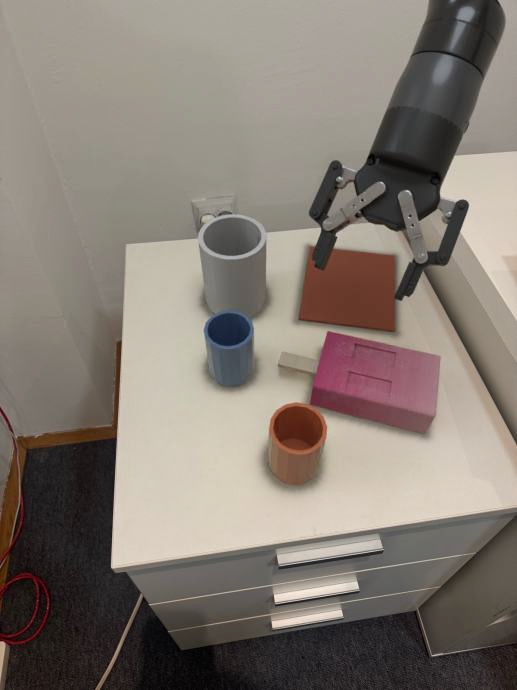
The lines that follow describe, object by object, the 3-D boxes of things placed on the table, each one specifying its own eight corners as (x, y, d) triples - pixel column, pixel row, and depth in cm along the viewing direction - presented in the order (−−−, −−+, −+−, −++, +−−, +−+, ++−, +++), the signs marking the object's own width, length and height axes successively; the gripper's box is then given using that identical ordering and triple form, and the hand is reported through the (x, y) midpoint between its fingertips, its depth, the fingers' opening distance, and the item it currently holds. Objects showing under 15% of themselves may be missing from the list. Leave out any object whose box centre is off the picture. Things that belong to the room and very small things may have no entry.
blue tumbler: (257, 353, 68) (257, 313, 61) (249, 389, 64) (248, 351, 58) (215, 347, 69) (210, 307, 62) (205, 383, 65) (198, 345, 58)
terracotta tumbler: (321, 441, 60) (329, 406, 53) (316, 488, 56) (324, 458, 50) (272, 433, 61) (274, 398, 54) (264, 480, 57) (265, 449, 50)
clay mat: (394, 257, 80) (394, 255, 79) (394, 332, 70) (395, 330, 70) (309, 247, 81) (309, 246, 81) (298, 320, 72) (298, 318, 71)
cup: (193, 301, 74) (184, 240, 64) (231, 268, 78) (227, 206, 69) (241, 329, 71) (238, 269, 61) (277, 292, 75) (279, 231, 65)
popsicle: (270, 395, 64) (424, 434, 60) (270, 375, 60) (436, 415, 57) (287, 342, 69) (430, 375, 66) (289, 320, 65) (441, 354, 62)
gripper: (347, 86, 44) (283, 256, 47) (507, 127, 40) (425, 310, 43) (359, 117, 51) (303, 263, 54) (497, 154, 47) (427, 310, 50)
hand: (357, 284), depth 49 cm, fingers open, 8 cm apart
